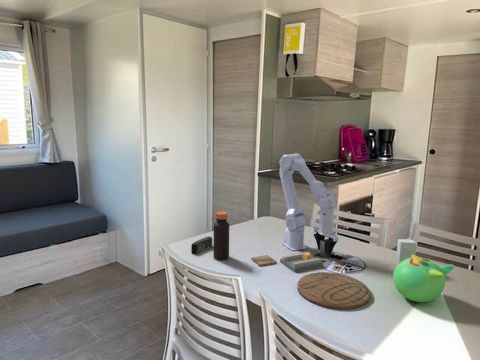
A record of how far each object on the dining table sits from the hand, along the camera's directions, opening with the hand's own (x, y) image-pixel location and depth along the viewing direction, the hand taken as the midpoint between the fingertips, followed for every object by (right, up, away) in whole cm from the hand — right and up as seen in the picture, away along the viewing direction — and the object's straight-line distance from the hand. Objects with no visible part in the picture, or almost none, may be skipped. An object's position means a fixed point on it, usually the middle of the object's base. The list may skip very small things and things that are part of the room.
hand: (324, 251), depth 163 cm
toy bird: (+24, -9, -36) cm, 44 cm away
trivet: (-4, -8, -32) cm, 33 cm away
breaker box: (-12, -4, -9) cm, 16 cm away
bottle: (-46, -2, -3) cm, 46 cm away
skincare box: (+30, -5, -12) cm, 33 cm away
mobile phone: (-55, 0, +7) cm, 55 cm away
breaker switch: (-10, -2, -9) cm, 13 cm away
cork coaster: (-27, -3, -7) cm, 29 cm away
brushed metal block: (0, -2, 0) cm, 2 cm away
